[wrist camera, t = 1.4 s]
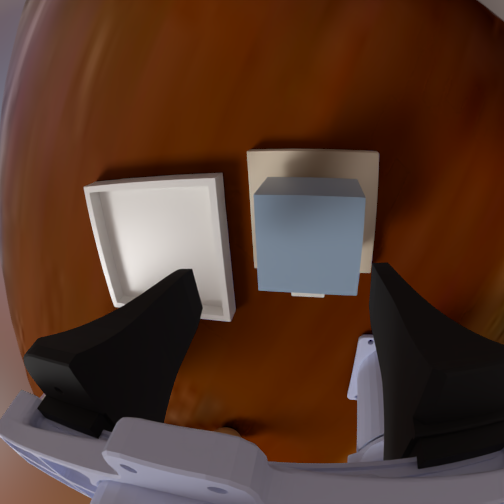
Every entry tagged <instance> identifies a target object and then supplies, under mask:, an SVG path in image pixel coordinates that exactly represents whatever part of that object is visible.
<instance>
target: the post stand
mask: <svg viewBox="0 0 504 504" xmlns="http://www.w3.org/2000/svg"><path fill="white" fill-rule="evenodd" d="M247 161H248V176H249V192H250V207H251V222H252V238H253V253H254V268H257V252H256V233H255V215H254V196H253V195H254V193H255V192H256V191H257V190H258V188H259V187H260V186H261V185H262V183H263V182H264V181H265V180H266V178H267V177H314V178H345V179H357V180H358V182H359V184H360V186H361V188H362V191H363V193H364V195H365V197H366V202H365V217H364V231H363V243H362V253H361V263H360V272H359V273H370V272H371V263H372V254H373V245H374V234H375V223H376V210H377V194H378V173H379V153H378V152H377V151H365V150H341V149H250V150H249V151H247Z"/></svg>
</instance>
